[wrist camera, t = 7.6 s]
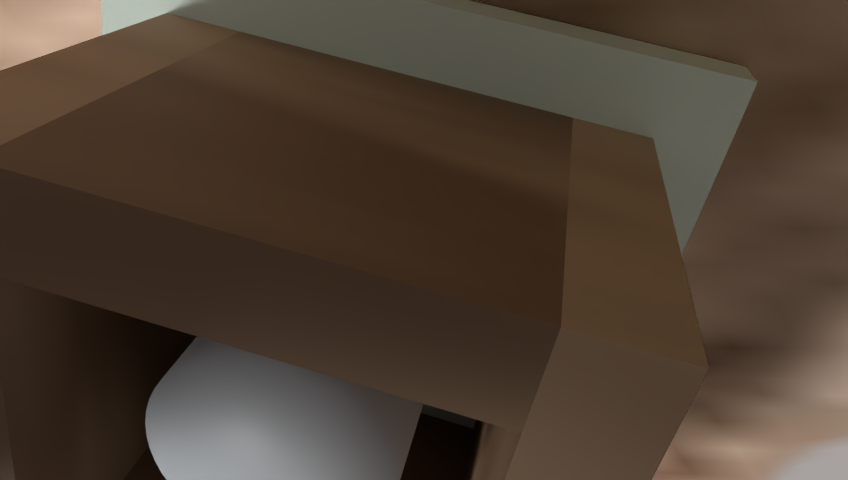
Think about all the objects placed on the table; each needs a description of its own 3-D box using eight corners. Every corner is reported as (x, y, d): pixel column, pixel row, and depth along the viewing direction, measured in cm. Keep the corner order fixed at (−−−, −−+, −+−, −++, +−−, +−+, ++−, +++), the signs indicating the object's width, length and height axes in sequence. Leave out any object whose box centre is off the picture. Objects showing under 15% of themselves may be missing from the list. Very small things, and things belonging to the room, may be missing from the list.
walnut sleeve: (517, 489, 13) (482, 803, 9) (162, 380, 13) (-38, 624, 9) (653, 138, 9) (709, 369, 5) (167, 12, 10) (-153, 124, 6)
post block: (558, 505, 14) (547, 775, 10) (139, 380, 15) (-37, 581, 11) (745, 66, 10) (867, 220, 5) (130, -81, 10) (-180, -46, 6)
